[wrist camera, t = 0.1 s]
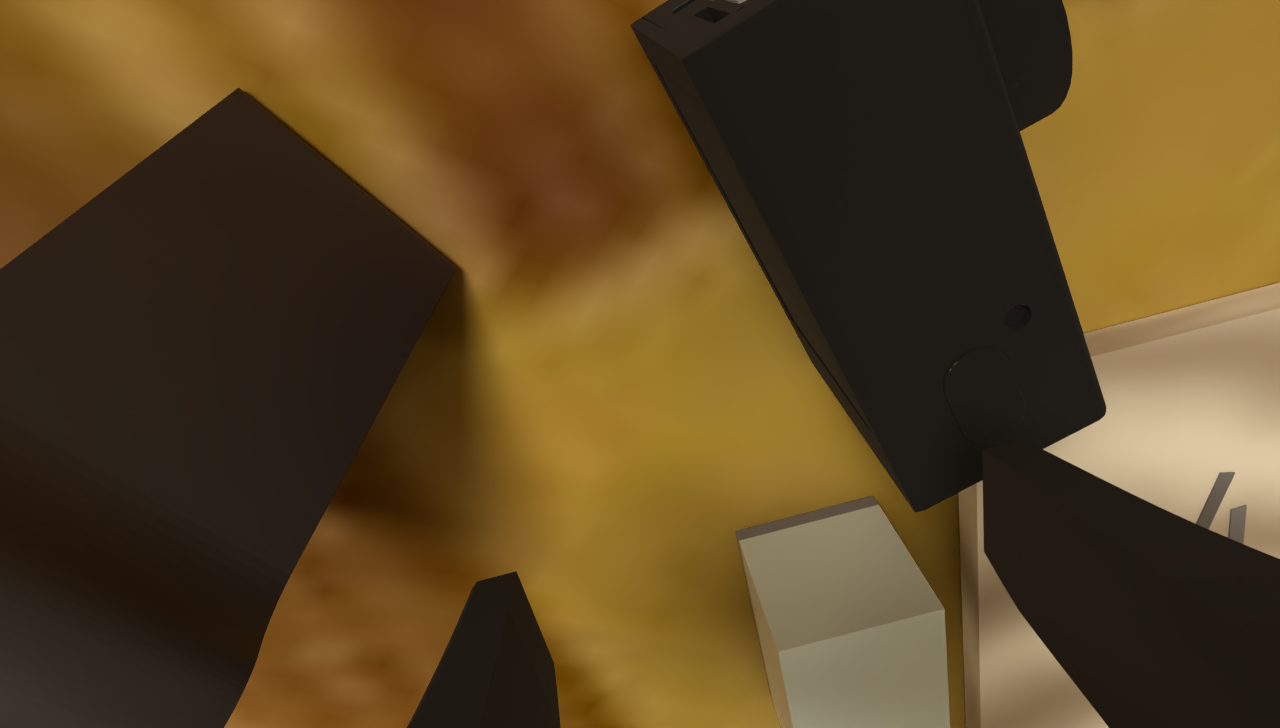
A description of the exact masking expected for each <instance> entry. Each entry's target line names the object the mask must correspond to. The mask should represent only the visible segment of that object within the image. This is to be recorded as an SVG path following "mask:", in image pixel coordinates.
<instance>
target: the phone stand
mask: <svg viewBox="0 0 1280 728" xmlns="http://www.w3.org/2000/svg"><path fill="white" fill-rule="evenodd" d="M455 269H456V266H455V265H454V264H453V263H451V262H450V261H449V260H448V259H447V258H445V257H444V256H443V255H442V254H440V253H439V252H438V251H437V250H436V249H434V248H433V247H432V246H431V245H430V244H428V243H427V242H426V241H425V240H423V239H422V238H421V237H420V236H419V235H417V234H416V233H415V232H414V231H413V230H411V229H410V228H409V227H408V226H406V225H405V224H404V223H403V222H402V221H400V220H399V219H398V218H397V217H395V216H394V215H393V214H392V213H391V212H389V211H388V210H387V209H386V208H385V207H383V206H382V205H381V204H380V203H378V202H377V201H376V200H375V199H374V198H372V197H371V196H370V195H369V194H368V193H366V192H365V191H364V190H363V189H361V188H360V187H359V186H358V185H357V184H355V183H354V182H353V181H352V180H351V179H349V178H348V177H347V176H346V175H344V174H343V173H342V172H341V171H340V170H338V169H337V168H336V167H335V166H334V165H332V164H331V163H330V162H329V161H327V160H326V159H325V158H324V157H323V156H321V155H320V154H319V153H318V152H316V151H315V150H314V149H313V148H312V147H310V146H309V145H308V144H307V143H306V142H304V141H303V140H302V139H301V138H299V137H298V136H297V135H296V134H295V133H293V132H292V131H291V130H290V129H289V128H287V127H286V126H285V125H284V124H282V123H281V122H280V121H279V120H278V119H276V118H275V117H274V116H273V115H272V114H270V113H269V112H268V111H267V110H265V109H264V108H263V107H262V106H261V105H259V104H258V103H257V102H256V101H255V100H253V99H252V98H251V97H250V96H248V95H247V94H246V93H245V92H244V91H242V90H241V89H240V88H238V89H236V90H235V91H234V92H232V93H231V94H230V95H228V96H227V97H226V98H224V99H223V100H222V101H221V102H219V103H218V104H217V105H215V106H214V107H213V108H211V109H210V110H209V111H207V112H206V113H205V114H203V115H202V116H201V117H200V118H198V119H197V120H196V121H194V122H193V123H192V124H190V125H189V126H188V127H186V128H185V129H184V130H183V131H181V132H180V133H179V134H177V135H176V136H175V137H173V138H172V139H171V140H169V141H168V142H167V143H165V144H164V145H163V146H162V147H160V148H159V149H158V150H156V151H155V152H154V153H152V154H151V155H150V156H148V157H147V158H146V159H144V160H143V161H142V162H141V163H139V164H138V165H137V166H135V167H134V168H133V169H131V170H130V171H129V172H127V173H126V174H125V175H123V176H122V177H121V178H120V179H118V180H117V181H116V182H114V183H113V184H112V185H110V186H109V187H108V188H106V189H105V190H104V191H102V192H101V193H100V194H99V195H97V196H96V197H95V198H93V199H92V200H91V201H89V202H88V203H87V204H85V205H84V206H83V207H82V208H80V209H79V210H78V211H76V212H75V213H74V214H72V215H71V216H70V217H68V218H67V219H66V220H64V221H63V222H62V223H61V224H59V225H58V226H57V227H55V228H54V229H53V230H51V231H50V232H49V233H47V234H46V235H45V236H43V237H42V238H41V239H40V240H38V241H37V242H36V243H34V244H33V245H32V246H30V247H29V248H28V249H26V250H25V251H24V252H22V253H21V254H20V255H19V256H17V257H16V258H15V259H13V260H12V261H11V262H9V263H8V264H7V265H5V266H4V267H3V268H1V269H0V728H224V726H225V725H226V723H227V721H228V719H229V718H230V716H231V714H232V712H233V710H234V709H235V707H236V705H237V703H238V701H239V699H240V697H241V695H242V693H243V691H244V689H245V687H246V684H247V682H248V680H249V678H250V675H251V673H252V671H253V668H254V665H255V663H256V660H257V657H258V653H259V650H260V647H261V643H262V640H263V637H264V634H265V632H266V629H267V626H268V624H269V621H270V619H271V616H272V614H273V611H274V609H275V607H276V604H277V602H278V600H279V598H280V596H281V594H282V592H283V589H284V587H285V585H286V583H287V581H288V579H289V577H290V575H291V574H292V572H293V570H294V568H295V566H296V564H297V562H298V560H299V559H300V557H301V555H302V553H303V551H304V549H305V547H306V546H307V544H308V542H309V540H310V538H311V536H312V534H313V533H314V531H315V529H316V527H317V525H318V523H319V521H320V520H321V518H322V516H323V514H324V512H325V510H326V509H327V507H328V505H329V503H330V501H331V499H332V497H333V496H334V494H335V492H336V490H337V488H338V486H339V484H340V483H341V481H342V479H343V477H344V475H345V473H346V471H347V470H348V468H349V466H350V464H351V462H352V460H353V458H354V457H355V455H356V453H357V451H358V449H359V447H360V445H361V444H362V442H363V440H364V438H365V436H366V434H367V433H368V431H369V429H370V427H371V425H372V423H373V421H374V420H375V418H376V416H377V414H378V412H379V410H380V408H381V407H382V405H383V403H384V401H385V399H386V397H387V395H388V394H389V392H390V390H391V388H392V386H393V384H394V382H395V381H396V379H397V377H398V375H399V373H400V371H401V369H402V368H403V366H404V364H405V362H406V360H407V358H408V356H409V355H410V353H411V351H412V349H413V347H414V345H415V344H416V342H417V340H418V338H419V336H420V334H421V332H422V331H423V329H424V327H425V325H426V323H427V321H428V319H429V318H430V316H431V314H432V312H433V310H434V308H435V306H436V305H437V303H438V301H439V299H440V297H441V295H442V293H443V292H444V290H445V288H446V286H447V284H448V282H449V280H450V279H451V277H452V275H453V273H454V271H455Z"/></svg>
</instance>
